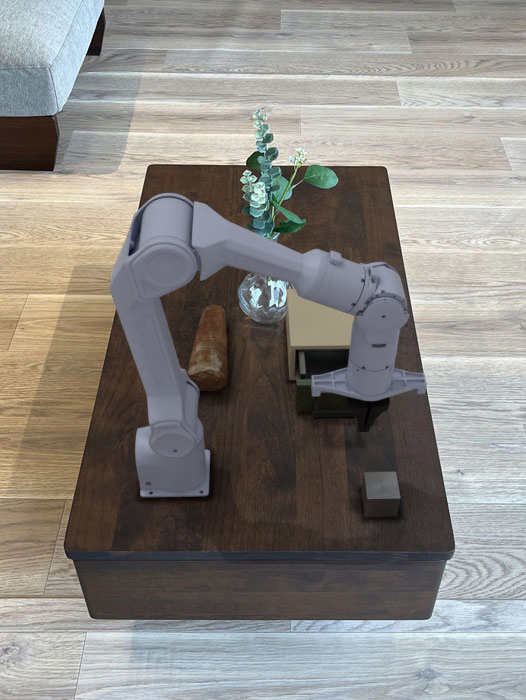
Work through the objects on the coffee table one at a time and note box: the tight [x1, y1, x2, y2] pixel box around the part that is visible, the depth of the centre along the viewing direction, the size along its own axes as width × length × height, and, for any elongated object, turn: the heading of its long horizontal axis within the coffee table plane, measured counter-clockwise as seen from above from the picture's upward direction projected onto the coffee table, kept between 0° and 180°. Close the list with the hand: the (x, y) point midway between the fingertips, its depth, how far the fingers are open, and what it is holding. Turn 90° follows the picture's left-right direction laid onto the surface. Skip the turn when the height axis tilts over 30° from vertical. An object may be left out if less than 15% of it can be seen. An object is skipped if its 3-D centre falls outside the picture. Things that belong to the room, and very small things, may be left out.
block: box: [360, 471, 401, 518], centre depth 108 cm, size 4×4×4 cm
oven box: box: [285, 288, 354, 381], centre depth 129 cm, size 14×12×8 cm
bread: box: [186, 304, 229, 392], centre depth 129 cm, size 6×19×6 cm, turn 177°
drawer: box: [294, 349, 356, 420], centre depth 122 cm, size 17×10×6 cm, turn 1°
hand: (362, 426), depth 108 cm, fingers closed
